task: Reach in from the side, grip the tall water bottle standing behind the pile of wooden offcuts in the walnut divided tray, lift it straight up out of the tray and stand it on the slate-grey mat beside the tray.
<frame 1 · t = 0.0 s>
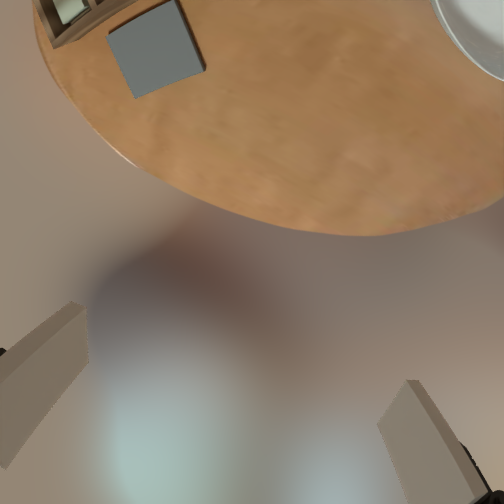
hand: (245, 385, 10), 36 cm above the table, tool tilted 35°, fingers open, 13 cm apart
serving bowl: (477, 2, 15), on the table
slate mat: (153, 50, 31), on the table
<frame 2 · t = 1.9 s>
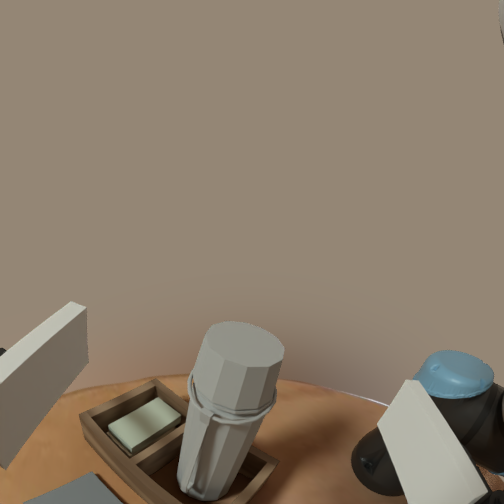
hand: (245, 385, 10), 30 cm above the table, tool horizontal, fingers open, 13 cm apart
water bottle: (198, 487, 27), resting in walnut divided tray
walnut divided tray: (173, 467, 29), on the table
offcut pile: (143, 442, 32), resting in walnut divided tray
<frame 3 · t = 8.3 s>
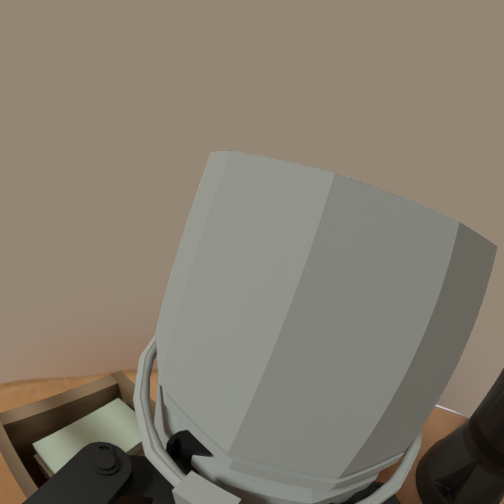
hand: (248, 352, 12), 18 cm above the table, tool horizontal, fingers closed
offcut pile: (99, 470, 16), resting in walnut divided tray
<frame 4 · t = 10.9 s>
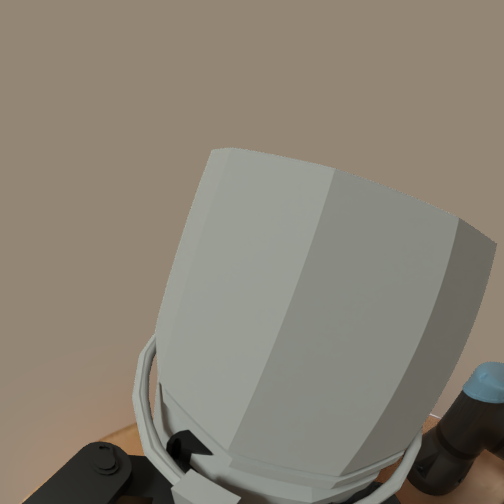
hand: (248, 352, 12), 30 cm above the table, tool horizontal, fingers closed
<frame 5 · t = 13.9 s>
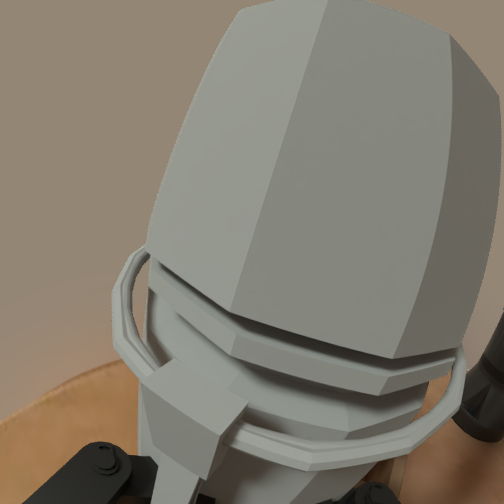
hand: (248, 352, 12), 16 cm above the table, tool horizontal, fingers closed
walnut divided tray: (284, 440, 24), on the table
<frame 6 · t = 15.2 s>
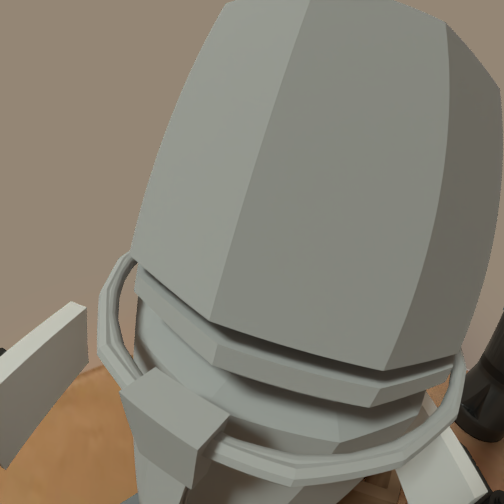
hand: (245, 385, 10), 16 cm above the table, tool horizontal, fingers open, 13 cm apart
walnut divided tray: (284, 440, 24), on the table
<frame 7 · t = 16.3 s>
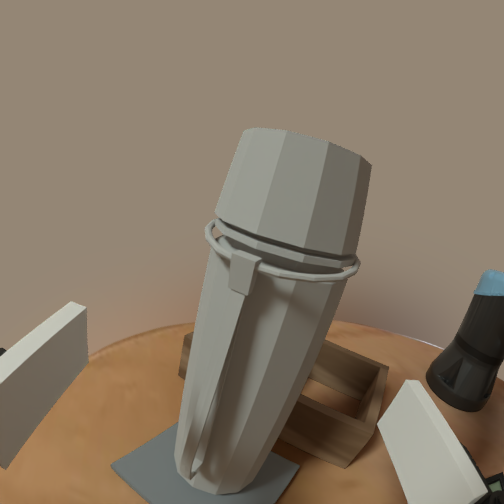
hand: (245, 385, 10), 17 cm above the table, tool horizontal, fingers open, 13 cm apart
water bottle: (208, 473, 19), point 1 cm above the table, touching slate mat
walnut divided tray: (283, 394, 33), on the table
slate mat: (209, 476, 19), on the table
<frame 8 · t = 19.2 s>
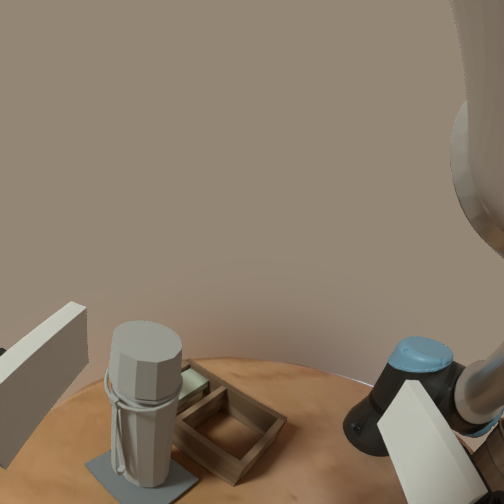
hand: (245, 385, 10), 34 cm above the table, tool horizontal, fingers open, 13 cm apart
water bottle: (139, 474, 29), point 1 cm above the table, touching slate mat
walnut divided tray: (204, 427, 43), on the table
plant pot: (455, 499, 25), point 1 cm above the table, touching arm
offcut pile: (178, 404, 47), resting in walnut divided tray
slate mat: (141, 476, 29), on the table
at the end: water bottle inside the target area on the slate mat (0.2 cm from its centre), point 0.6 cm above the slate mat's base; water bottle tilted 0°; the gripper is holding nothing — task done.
